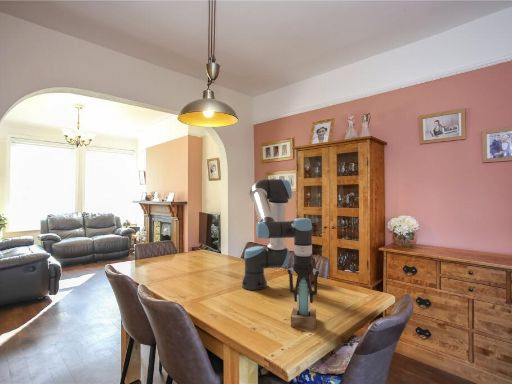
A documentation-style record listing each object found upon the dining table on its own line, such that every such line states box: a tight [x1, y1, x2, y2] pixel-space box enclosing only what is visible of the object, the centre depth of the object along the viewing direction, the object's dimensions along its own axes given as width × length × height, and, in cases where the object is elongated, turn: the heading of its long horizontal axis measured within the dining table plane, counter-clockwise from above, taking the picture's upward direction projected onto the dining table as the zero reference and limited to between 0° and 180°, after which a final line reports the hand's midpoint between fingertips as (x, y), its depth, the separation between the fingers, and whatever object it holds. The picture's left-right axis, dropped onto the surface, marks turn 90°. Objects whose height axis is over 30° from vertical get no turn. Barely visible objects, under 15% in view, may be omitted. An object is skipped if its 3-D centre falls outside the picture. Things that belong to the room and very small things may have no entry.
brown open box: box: [290, 307, 317, 330], centre depth 115 cm, size 10×10×4 cm
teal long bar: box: [298, 278, 309, 316], centre depth 116 cm, size 4×4×18 cm
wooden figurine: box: [300, 256, 317, 285], centre depth 169 cm, size 12×6×18 cm, turn 124°
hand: (303, 309), depth 116 cm, fingers closed on teal long bar, 4 cm apart
